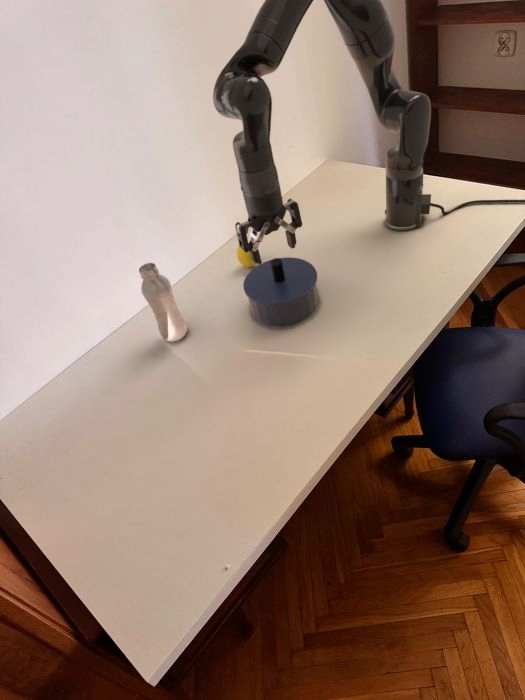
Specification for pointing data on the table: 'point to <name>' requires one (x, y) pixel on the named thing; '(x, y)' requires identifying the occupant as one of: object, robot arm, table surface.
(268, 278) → the pot lid
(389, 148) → the robot arm
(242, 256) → the lemon
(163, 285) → the plastic bottle
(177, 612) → the table surface
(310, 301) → the pot
